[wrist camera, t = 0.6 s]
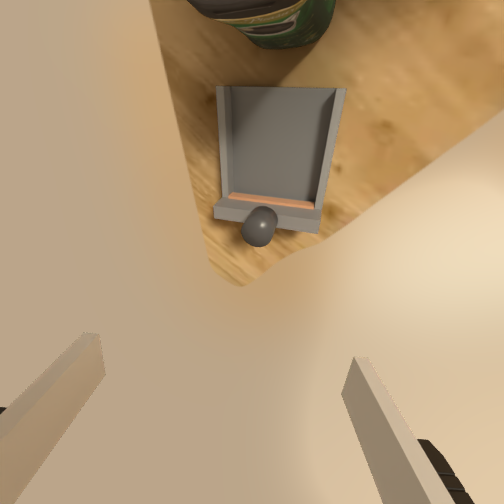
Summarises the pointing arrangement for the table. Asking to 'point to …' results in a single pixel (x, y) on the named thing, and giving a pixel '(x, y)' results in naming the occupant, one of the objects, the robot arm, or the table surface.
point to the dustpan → (275, 156)
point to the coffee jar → (272, 19)
